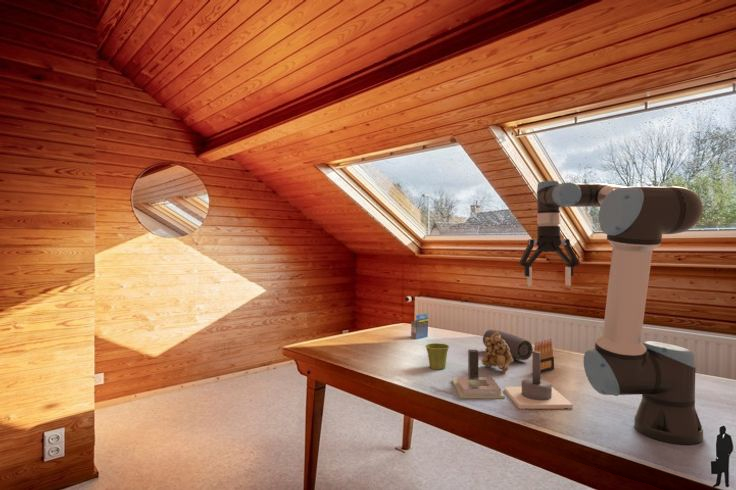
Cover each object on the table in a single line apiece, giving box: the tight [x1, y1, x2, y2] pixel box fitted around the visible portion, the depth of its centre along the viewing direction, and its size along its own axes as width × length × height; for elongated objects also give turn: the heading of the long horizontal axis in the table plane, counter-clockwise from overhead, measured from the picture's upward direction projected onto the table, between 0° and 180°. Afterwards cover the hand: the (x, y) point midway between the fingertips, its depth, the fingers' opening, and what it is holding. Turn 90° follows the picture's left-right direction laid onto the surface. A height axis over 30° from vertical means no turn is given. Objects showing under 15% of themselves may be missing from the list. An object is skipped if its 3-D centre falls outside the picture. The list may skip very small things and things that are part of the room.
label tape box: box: [410, 313, 429, 340], centre depth 229 cm, size 9×4×12 cm, turn 130°
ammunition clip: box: [533, 338, 555, 374], centre depth 172 cm, size 11×2×12 cm, turn 123°
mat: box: [451, 378, 506, 399], centre depth 152 cm, size 17×14×1 cm
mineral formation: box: [481, 332, 514, 373], centre depth 174 cm, size 8×13×15 cm, turn 32°
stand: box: [503, 350, 574, 410], centre depth 143 cm, size 16×16×15 cm
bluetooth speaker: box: [482, 329, 534, 361], centre depth 193 cm, size 23×9×10 cm, turn 22°
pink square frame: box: [456, 349, 502, 395], centre depth 152 cm, size 15×12×11 cm
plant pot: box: [425, 342, 450, 371], centre depth 177 cm, size 9×9×9 cm
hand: (548, 285), depth 158 cm, fingers open, 13 cm apart
